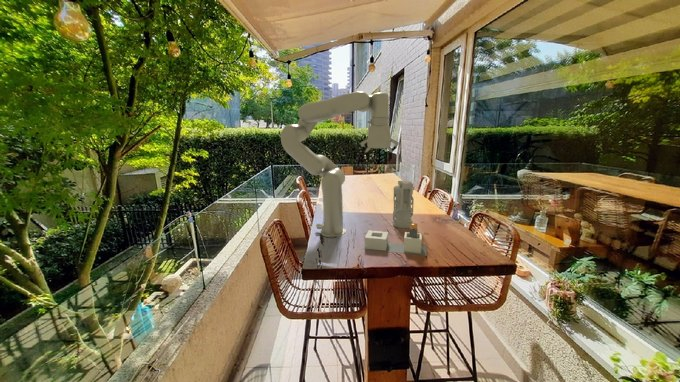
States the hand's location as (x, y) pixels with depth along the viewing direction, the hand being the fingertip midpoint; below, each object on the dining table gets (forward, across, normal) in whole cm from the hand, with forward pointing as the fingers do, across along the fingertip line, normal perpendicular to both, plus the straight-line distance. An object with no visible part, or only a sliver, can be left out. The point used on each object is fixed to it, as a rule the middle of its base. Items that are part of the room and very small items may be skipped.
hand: (378, 161), depth 122 cm
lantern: (+36, +11, +17) cm, 42 cm away
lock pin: (+35, +17, -14) cm, 41 cm away
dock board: (+36, +9, -14) cm, 40 cm away
